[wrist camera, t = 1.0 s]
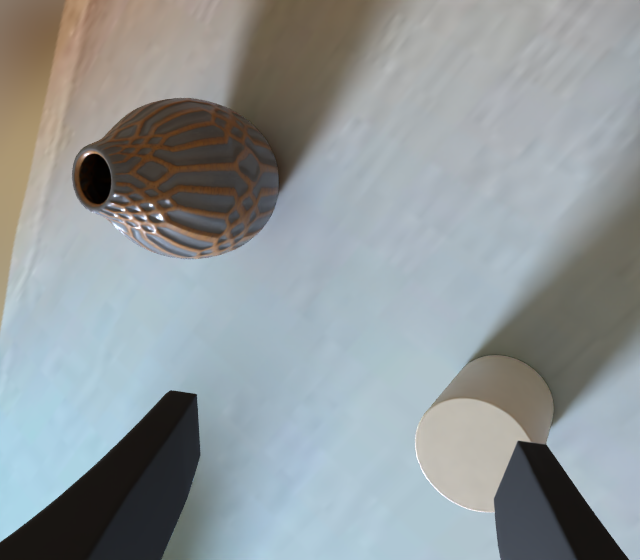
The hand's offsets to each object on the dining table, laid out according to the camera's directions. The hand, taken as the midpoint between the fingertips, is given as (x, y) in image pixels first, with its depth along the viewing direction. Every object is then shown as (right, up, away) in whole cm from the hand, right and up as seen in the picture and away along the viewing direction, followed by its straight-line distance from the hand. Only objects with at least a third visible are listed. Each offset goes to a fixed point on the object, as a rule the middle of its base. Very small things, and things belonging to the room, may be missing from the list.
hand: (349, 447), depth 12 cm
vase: (-4, +9, +14) cm, 17 cm away
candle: (+7, -1, +10) cm, 12 cm away
